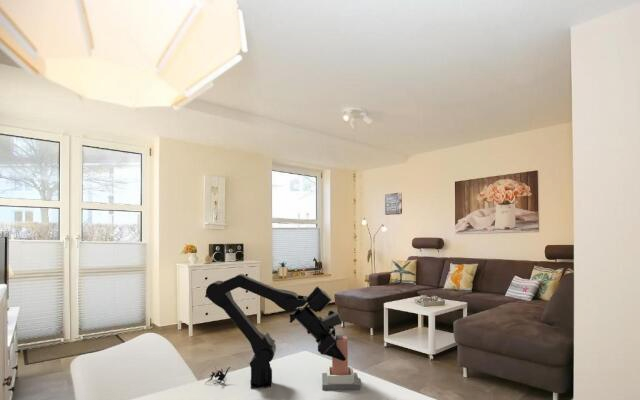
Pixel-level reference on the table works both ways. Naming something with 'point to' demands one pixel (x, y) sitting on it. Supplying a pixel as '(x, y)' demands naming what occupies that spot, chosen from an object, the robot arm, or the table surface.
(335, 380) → the grey socket base
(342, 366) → the pink square bar
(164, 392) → the table surface
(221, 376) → the creature
